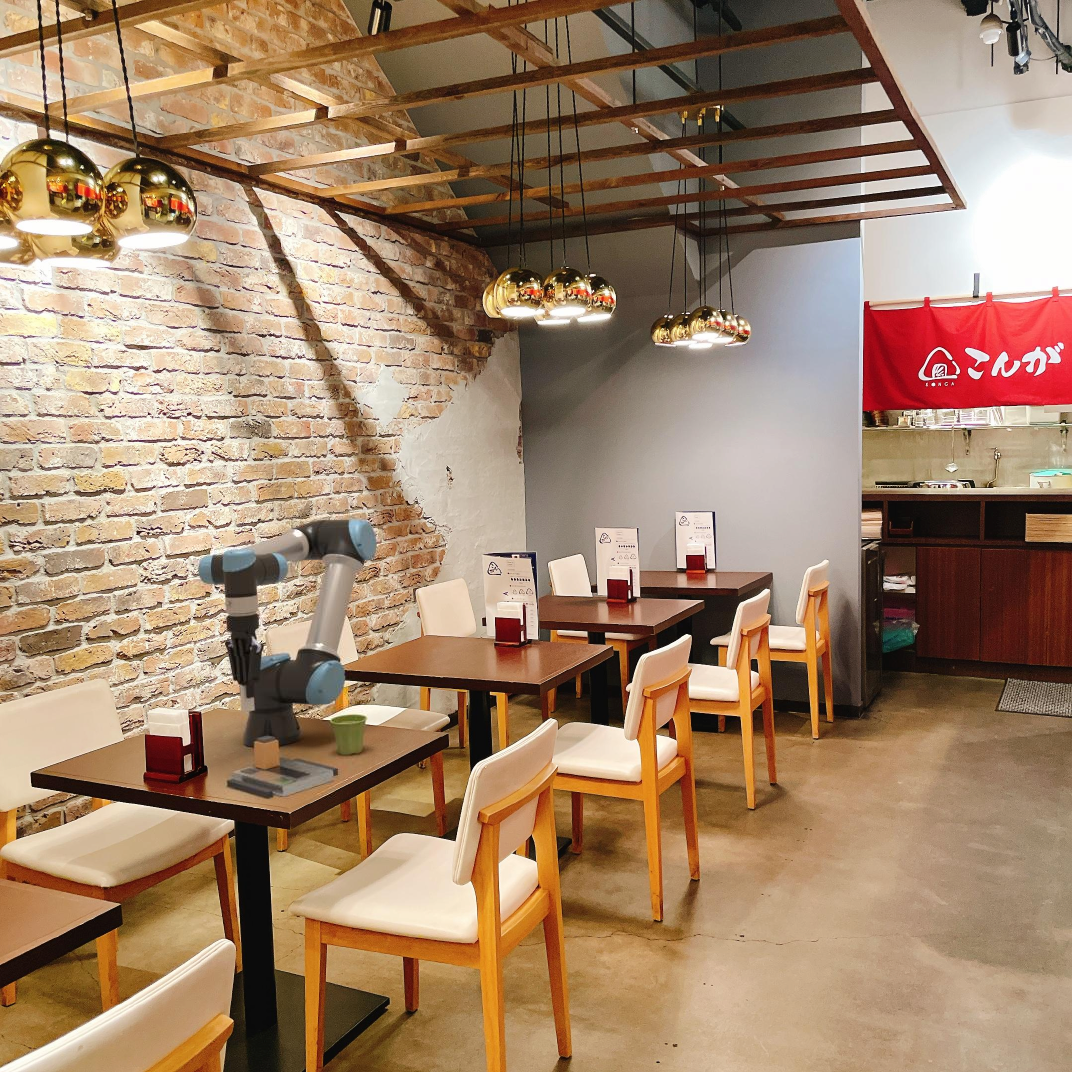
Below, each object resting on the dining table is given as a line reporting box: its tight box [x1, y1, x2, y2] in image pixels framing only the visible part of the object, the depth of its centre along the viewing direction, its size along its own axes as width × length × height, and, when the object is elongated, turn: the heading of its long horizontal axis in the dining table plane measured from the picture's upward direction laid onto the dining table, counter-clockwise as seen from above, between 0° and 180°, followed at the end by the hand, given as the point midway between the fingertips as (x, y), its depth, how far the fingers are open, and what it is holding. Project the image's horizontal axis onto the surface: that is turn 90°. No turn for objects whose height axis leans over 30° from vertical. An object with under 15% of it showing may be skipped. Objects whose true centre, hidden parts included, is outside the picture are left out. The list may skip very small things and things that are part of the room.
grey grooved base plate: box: [226, 758, 339, 799], centre depth 235 cm, size 17×20×1 cm
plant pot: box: [329, 713, 368, 756], centre depth 257 cm, size 9×9×9 cm
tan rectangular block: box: [253, 736, 280, 769], centre depth 238 cm, size 4×4×7 cm
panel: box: [231, 756, 335, 798], centre depth 235 cm, size 20×14×3 cm
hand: (248, 710), depth 242 cm, fingers closed
